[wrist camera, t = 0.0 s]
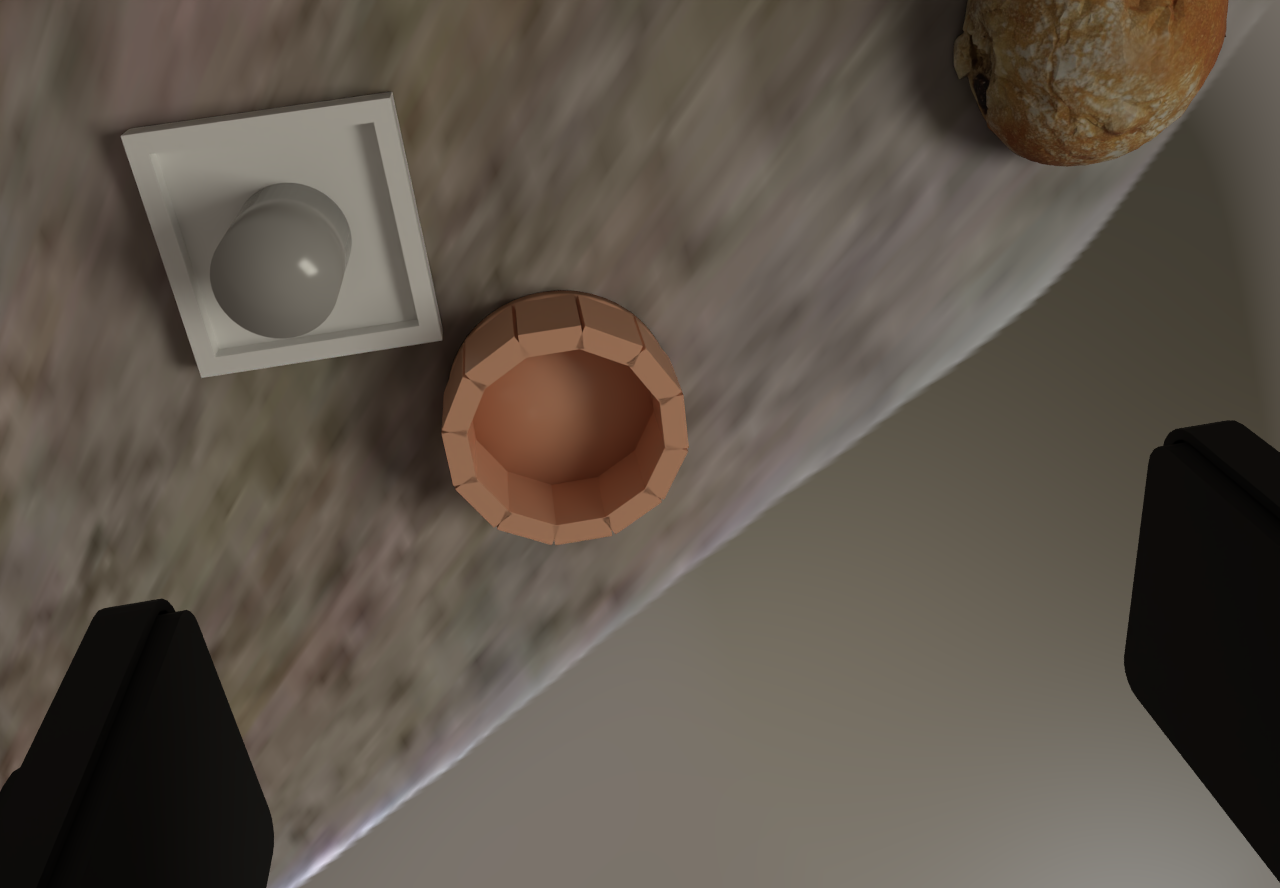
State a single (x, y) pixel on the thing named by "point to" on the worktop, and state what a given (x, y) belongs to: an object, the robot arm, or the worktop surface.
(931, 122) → the worktop surface
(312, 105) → the parts tray
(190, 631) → the robot arm
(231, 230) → the grey cylinder
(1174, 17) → the bread roll
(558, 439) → the bowl
